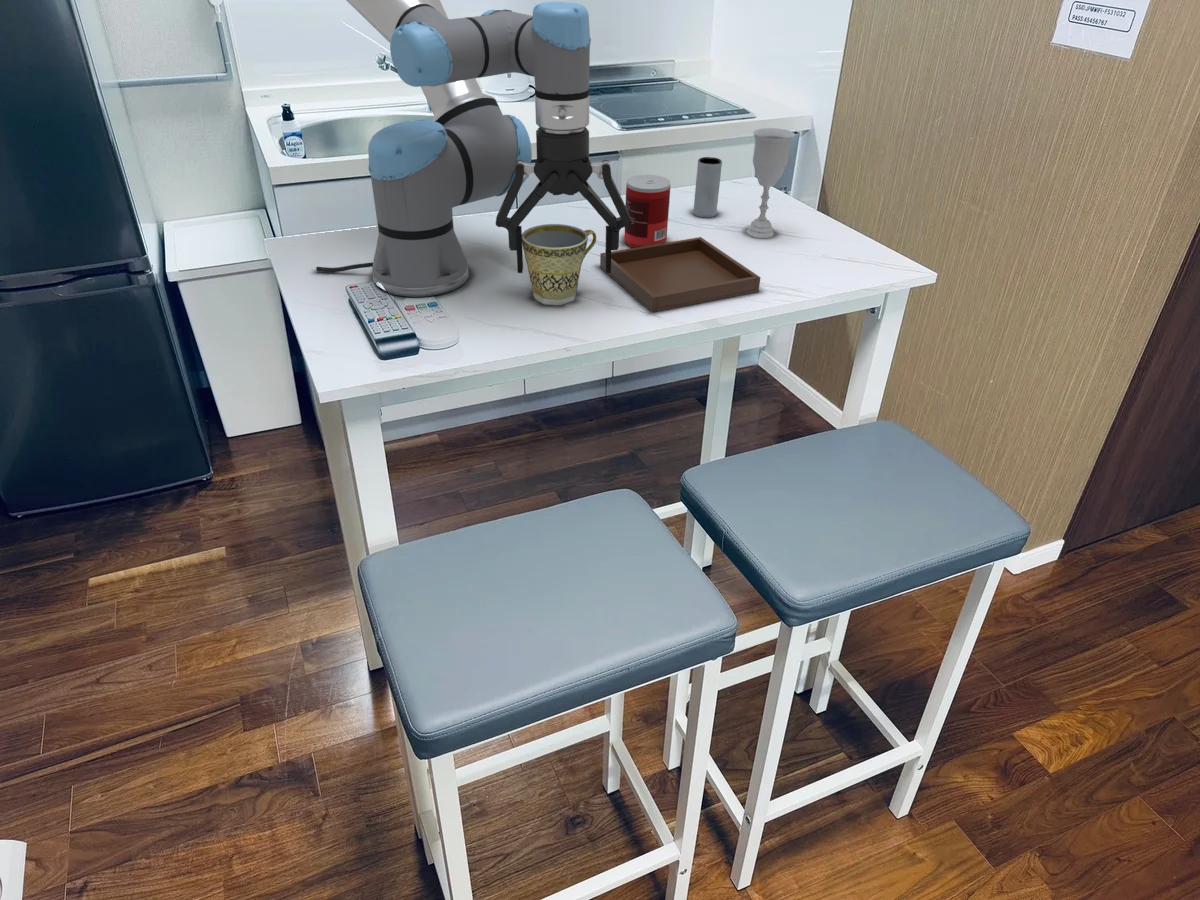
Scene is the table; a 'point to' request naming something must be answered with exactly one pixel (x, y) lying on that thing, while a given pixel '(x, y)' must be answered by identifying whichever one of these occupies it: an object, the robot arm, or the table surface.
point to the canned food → (647, 210)
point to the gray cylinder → (707, 186)
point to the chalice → (768, 171)
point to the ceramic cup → (555, 260)
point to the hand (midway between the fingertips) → (564, 269)
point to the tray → (679, 274)
